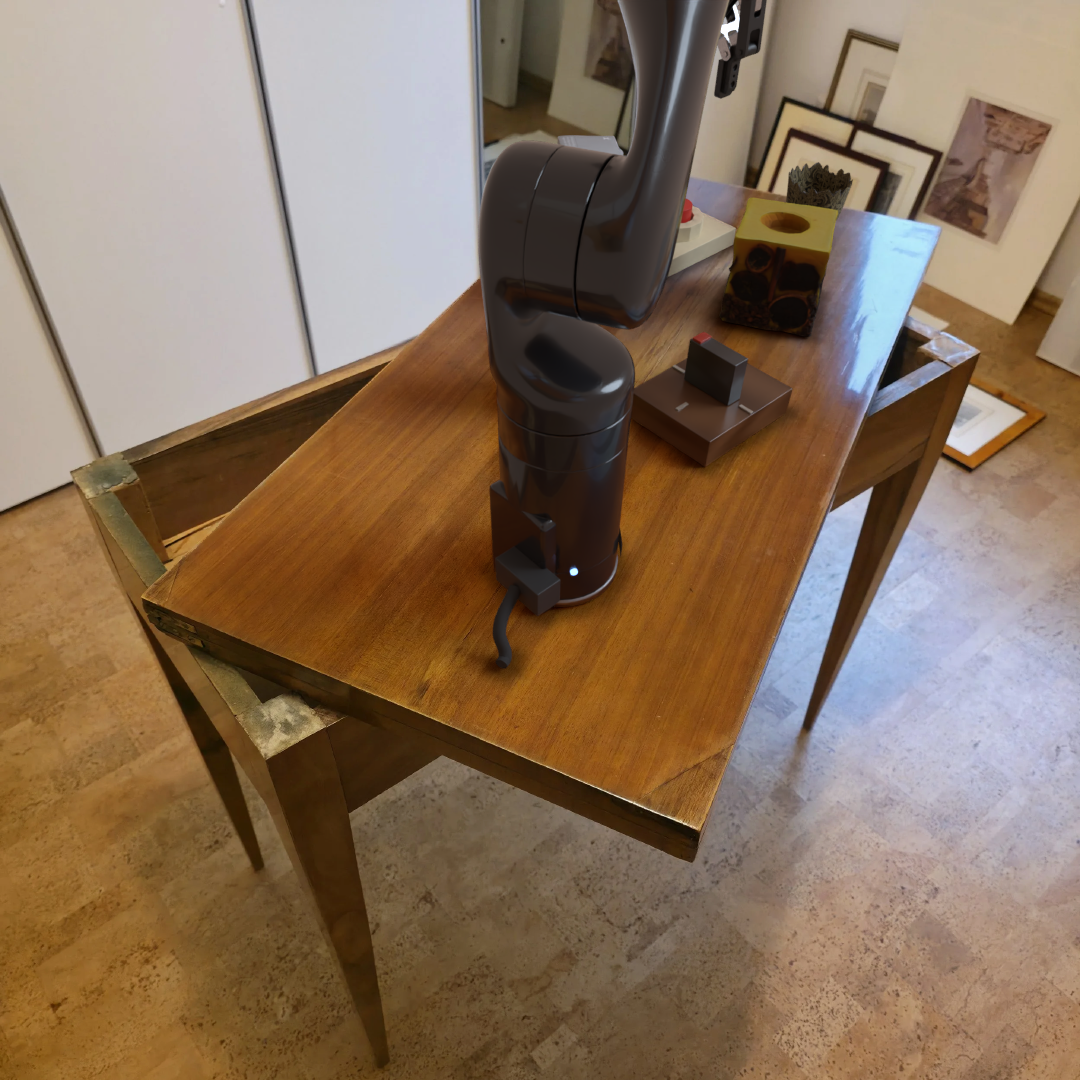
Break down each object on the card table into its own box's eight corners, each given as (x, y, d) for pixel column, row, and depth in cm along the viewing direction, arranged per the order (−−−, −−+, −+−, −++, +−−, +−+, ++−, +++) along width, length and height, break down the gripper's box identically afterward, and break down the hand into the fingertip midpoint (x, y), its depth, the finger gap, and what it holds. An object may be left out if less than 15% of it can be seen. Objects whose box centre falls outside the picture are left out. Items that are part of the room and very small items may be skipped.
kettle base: (667, 277, 103) (671, 246, 100) (607, 246, 108) (609, 215, 105) (733, 244, 108) (739, 213, 105) (673, 216, 113) (677, 185, 110)
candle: (810, 340, 94) (833, 254, 87) (717, 323, 96) (732, 237, 89) (821, 292, 101) (843, 209, 93) (733, 277, 103) (748, 194, 96)
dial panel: (705, 467, 80) (710, 440, 77) (626, 415, 85) (629, 389, 83) (786, 413, 85) (793, 386, 83) (708, 367, 90) (712, 341, 88)
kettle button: (675, 228, 103) (676, 214, 102) (650, 216, 105) (652, 202, 104) (697, 218, 105) (699, 204, 104) (673, 206, 107) (674, 192, 106)
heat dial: (740, 398, 82) (749, 356, 78) (727, 406, 81) (735, 363, 78) (696, 372, 85) (703, 330, 81) (683, 379, 84) (689, 337, 80)
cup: (847, 238, 109) (865, 175, 104) (816, 260, 106) (832, 195, 100) (796, 219, 113) (810, 156, 107) (764, 239, 109) (777, 175, 103)
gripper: (633, -106, 84) (621, 74, 96) (748, -77, 77) (720, 113, 89) (686, -117, 88) (668, 58, 100) (801, -91, 81) (767, 95, 92)
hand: (693, 84), depth 94 cm, fingers open, 8 cm apart
